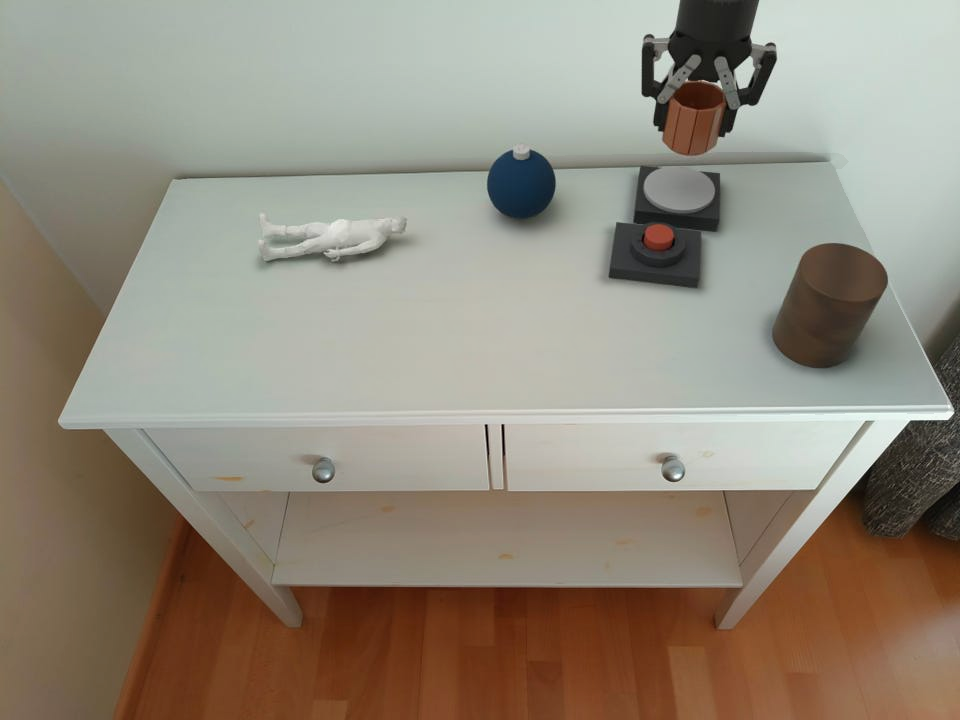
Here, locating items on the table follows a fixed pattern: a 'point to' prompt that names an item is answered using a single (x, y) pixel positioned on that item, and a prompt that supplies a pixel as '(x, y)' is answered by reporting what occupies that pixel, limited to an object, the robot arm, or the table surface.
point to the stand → (828, 304)
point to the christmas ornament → (521, 183)
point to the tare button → (658, 237)
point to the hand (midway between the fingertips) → (691, 130)
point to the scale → (678, 197)
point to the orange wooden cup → (694, 118)
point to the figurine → (330, 237)
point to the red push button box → (656, 256)
